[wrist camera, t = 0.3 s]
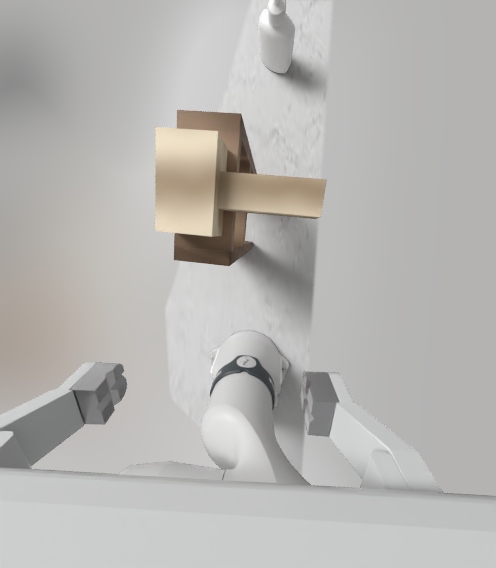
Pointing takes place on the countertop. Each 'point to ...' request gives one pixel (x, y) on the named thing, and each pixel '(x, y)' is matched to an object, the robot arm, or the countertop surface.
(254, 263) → the countertop surface
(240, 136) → the walnut shelf
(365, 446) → the robot arm
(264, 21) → the eye dropper bottle
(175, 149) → the wooden mallet
